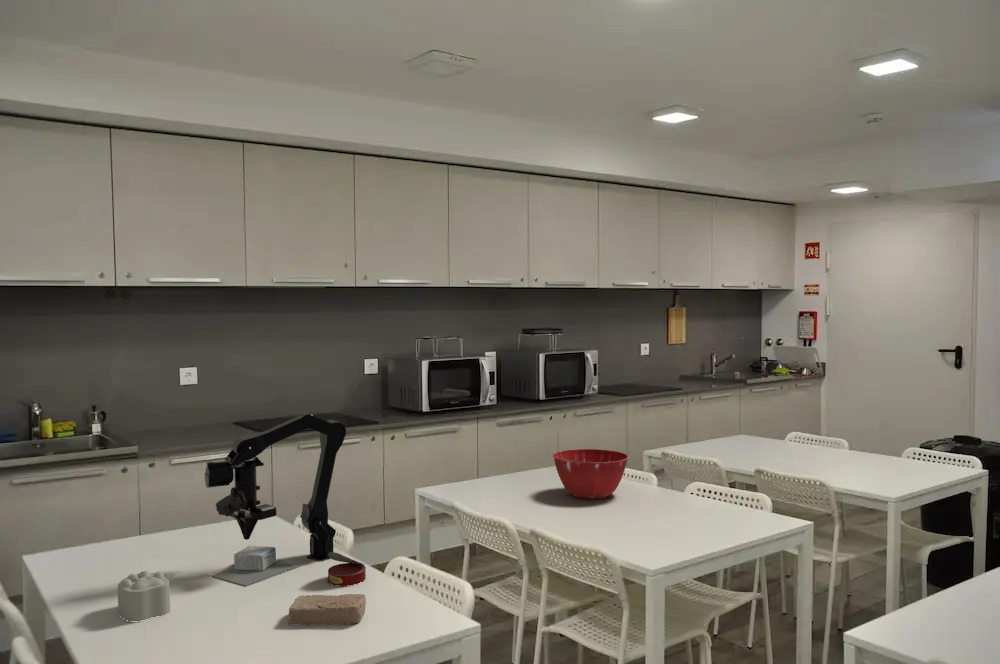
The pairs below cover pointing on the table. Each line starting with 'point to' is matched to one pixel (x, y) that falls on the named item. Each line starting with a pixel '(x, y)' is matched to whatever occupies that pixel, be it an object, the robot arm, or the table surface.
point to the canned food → (345, 571)
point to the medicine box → (254, 558)
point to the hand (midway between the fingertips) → (246, 539)
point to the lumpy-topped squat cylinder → (143, 596)
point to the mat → (254, 574)
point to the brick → (327, 609)
